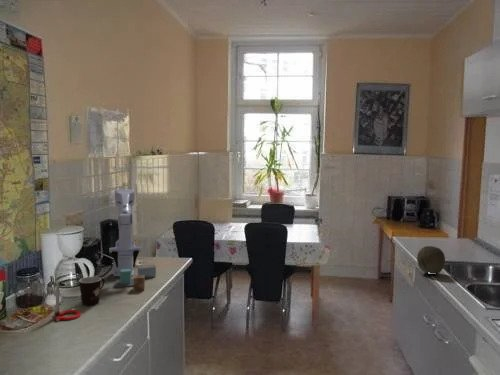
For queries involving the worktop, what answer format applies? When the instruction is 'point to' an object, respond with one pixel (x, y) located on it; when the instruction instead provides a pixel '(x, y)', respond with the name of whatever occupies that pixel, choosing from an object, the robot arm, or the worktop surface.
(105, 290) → the worktop surface
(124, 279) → the teal block
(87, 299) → the coffee mug
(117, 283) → the mat
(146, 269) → the control box
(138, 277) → the walnut block
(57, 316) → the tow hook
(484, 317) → the worktop surface
